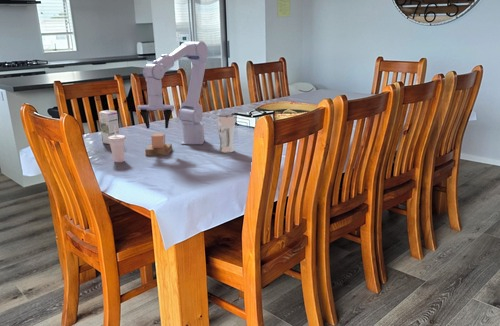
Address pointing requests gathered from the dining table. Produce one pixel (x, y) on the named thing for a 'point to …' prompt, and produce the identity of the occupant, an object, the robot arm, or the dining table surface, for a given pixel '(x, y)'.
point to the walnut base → (158, 150)
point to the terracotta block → (158, 140)
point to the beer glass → (226, 132)
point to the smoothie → (117, 146)
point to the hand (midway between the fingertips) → (157, 127)
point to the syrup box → (108, 124)
